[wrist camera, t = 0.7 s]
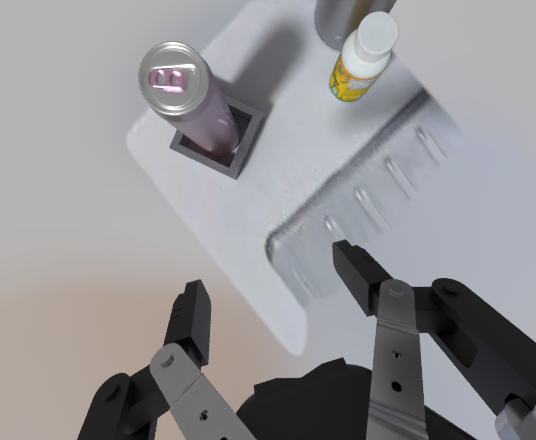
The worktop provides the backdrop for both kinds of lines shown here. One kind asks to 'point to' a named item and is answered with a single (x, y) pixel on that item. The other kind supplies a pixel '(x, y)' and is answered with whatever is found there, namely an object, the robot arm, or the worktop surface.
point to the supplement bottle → (363, 57)
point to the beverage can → (188, 96)
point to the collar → (256, 120)
